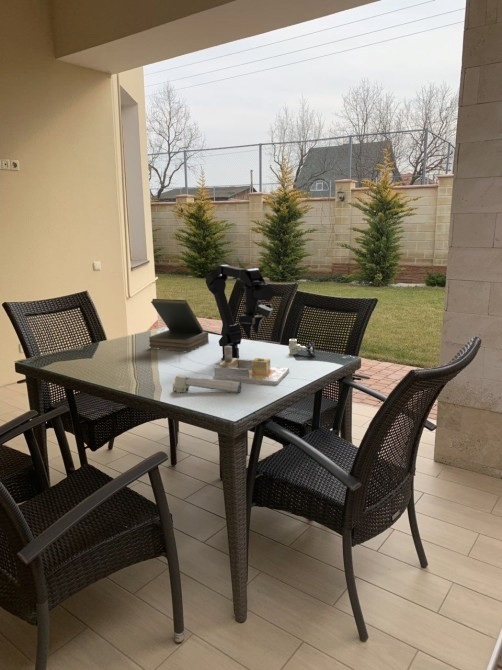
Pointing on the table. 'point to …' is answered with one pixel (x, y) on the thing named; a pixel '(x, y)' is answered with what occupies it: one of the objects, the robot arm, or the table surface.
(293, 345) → the valve
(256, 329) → the robot arm
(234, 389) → the beige flashlight
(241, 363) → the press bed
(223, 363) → the ram
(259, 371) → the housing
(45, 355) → the table surface
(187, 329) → the hinged lid box
